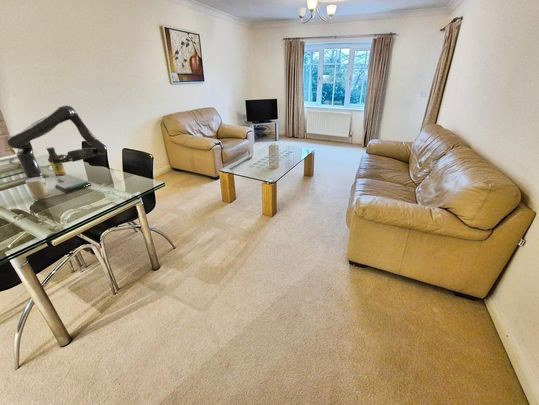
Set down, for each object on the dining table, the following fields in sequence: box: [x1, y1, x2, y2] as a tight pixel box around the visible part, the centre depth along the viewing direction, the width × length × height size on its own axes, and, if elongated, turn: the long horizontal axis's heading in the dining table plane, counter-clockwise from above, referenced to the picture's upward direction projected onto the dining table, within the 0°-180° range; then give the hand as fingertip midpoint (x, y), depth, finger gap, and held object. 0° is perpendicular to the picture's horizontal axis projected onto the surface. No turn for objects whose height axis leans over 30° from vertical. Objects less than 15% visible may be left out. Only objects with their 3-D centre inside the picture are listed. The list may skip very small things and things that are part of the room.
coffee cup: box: [24, 176, 50, 199], centre depth 166 cm, size 9×9×12 cm
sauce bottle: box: [46, 146, 67, 177], centre depth 174 cm, size 6×6×20 cm
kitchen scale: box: [54, 177, 92, 194], centre depth 181 cm, size 16×16×3 cm
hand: (50, 161), depth 172 cm, fingers closed on sauce bottle, 6 cm apart
